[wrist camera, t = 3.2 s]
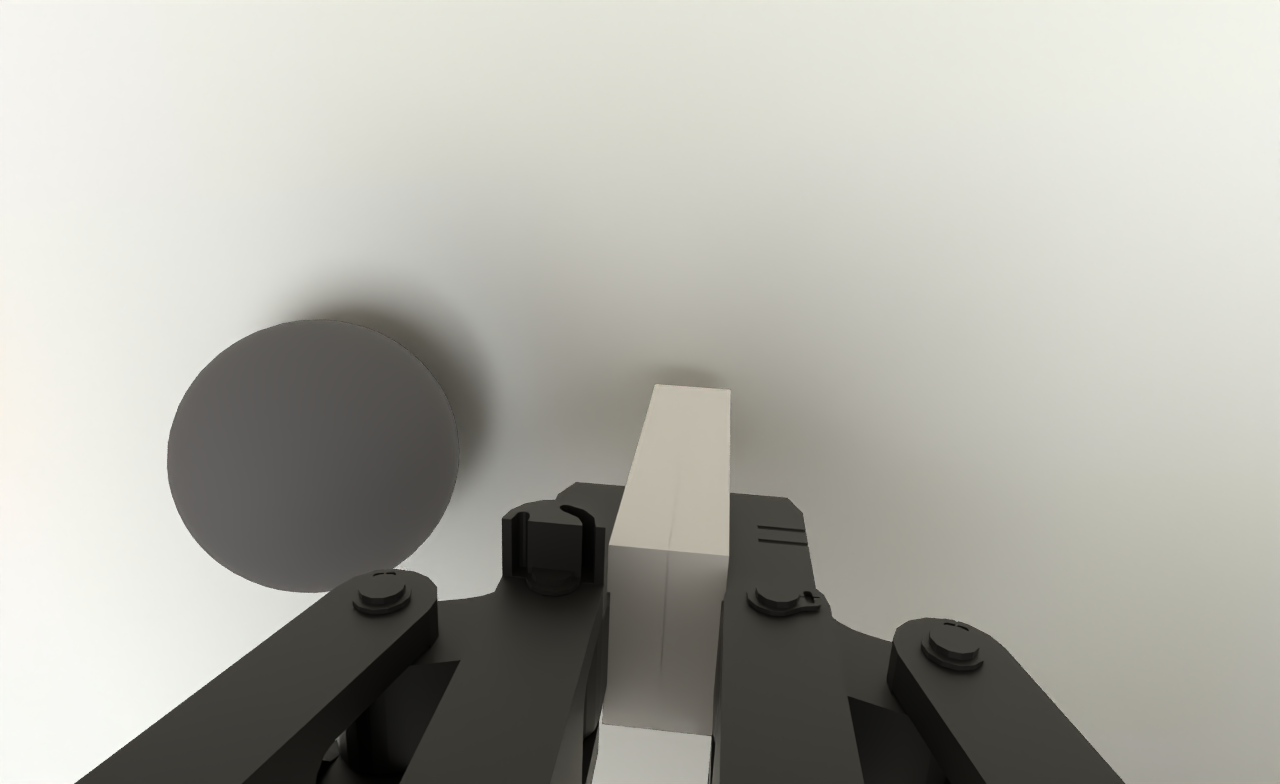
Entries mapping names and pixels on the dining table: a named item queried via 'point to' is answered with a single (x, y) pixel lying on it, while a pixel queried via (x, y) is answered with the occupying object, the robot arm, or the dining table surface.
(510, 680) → the robot arm
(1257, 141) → the dining table surface
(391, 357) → the dark grey round piece
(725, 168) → the dining table surface
